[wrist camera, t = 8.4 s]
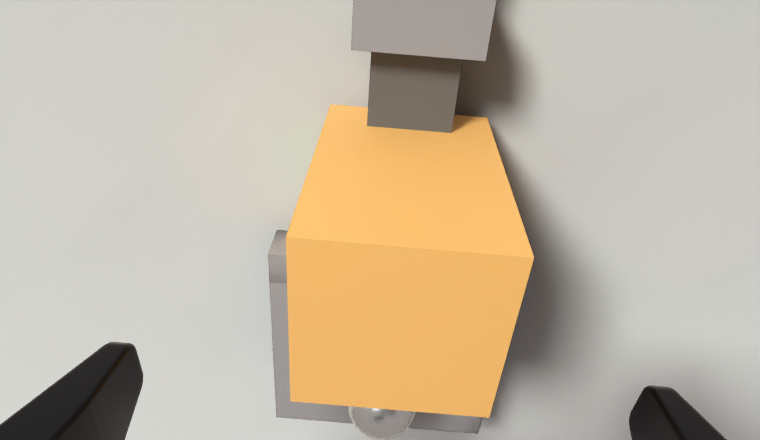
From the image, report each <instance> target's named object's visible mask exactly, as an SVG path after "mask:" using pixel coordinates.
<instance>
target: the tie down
mask: <svg viewBox="0 0 760 440" xmlns="http://www.w3.org/2000/svg"><path fill="white" fill-rule="evenodd" d="M495 6H496V0H353V16H352V40H351V50H357V51H369V52H371V67H370V83H369V99H368V108H367V107H355V106H343V105H330V108H329V111H328V114H327V117H326V120H325V123H324V126H323V129H322V132H321V134H320V137H319V140H318V143H317V146H316V149H315V152H314V155H313V158H312V161H311V164H310V167H309V170H308V173H307V176H306V179H305V182H304V185H303V188H302V191H301V194H300V196H299V199H298V202H297V205H296V208H295V211H294V214H293V217H292V220H291V223H290V226H289V229H288V231H283V230H277V231H276V234H275V237H274V239H273V242H272V245H271V247H270V250H269V253H268V262H269V282H270V302H271V321H272V341H273V361H274V380H275V400H276V417H281V418H293V419H305V420H317V421H329V422H341V423H353V422H352V420H351V418H350V416H349V412H348V407H347V406H353V407H365V408H377V409H389V410H402V411H414V412H416V413H415V416H414V419H413V421H412V422H411V424H410V425H409V427H408V428H414V429H427V430H439V431H451V432H463V433H475V434H478V432H479V428H480V424H481V421H482V417H487V418H489V417H490V413H491V410H492V406H493V403H494V399H495V395H496V392H497V388H498V385H499V381H500V378H501V374H502V371H503V367H504V363H505V360H506V356H507V353H508V349H509V346H510V342H511V339H512V335H513V331H514V328H515V324H516V321H517V317H518V314H519V310H520V307H521V303H522V299H523V296H524V292H525V289H526V285H527V282H528V278H529V275H530V271H531V267H532V264H533V260H534V255H533V252H532V249H531V247H530V244H529V241H528V238H527V235H526V232H525V229H524V226H523V223H522V220H521V217H520V214H519V211H518V208H517V205H516V202H515V199H514V196H513V193H512V190H511V187H510V184H509V181H508V178H507V175H506V172H505V169H504V166H503V163H502V160H501V157H500V154H499V151H498V148H497V145H496V142H495V139H494V136H493V133H492V130H491V127H490V124H489V122H488V119H487V117H475V116H463V115H454V113H455V106H456V100H457V93H458V87H459V80H460V74H461V67H462V61H463V59H464V60H476V61H486V56H487V51H488V45H489V39H490V34H491V28H492V23H493V17H494V11H495Z"/></svg>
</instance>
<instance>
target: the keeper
mask: <svg viewBox="0 0 760 440" xmlns="http://www.w3.org/2000/svg"><path fill="white" fill-rule="evenodd" d="M347 407H348V412H349V416H350V418H351V420H352V422H353V423H354V425H355V426H356V427H357V429H358V430H359V431H361V432H362V433H363V434H365V435H367V436H369V437H371V438H375V439H390V438H393V437H396V436H398V435H400V434H401V433H402V432H404V431H405V430H406V429H407V428H408V427H409V425H410V424H411V422H412V421H413V419H414V416H415V413H416V412H414V411H402V410H389V409H377V408H365V407H353V406H347Z"/></svg>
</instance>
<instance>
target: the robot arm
mask: <svg viewBox="0 0 760 440" xmlns="http://www.w3.org/2000/svg"><path fill="white" fill-rule="evenodd" d="M142 383H143V372H142V368H141V365H140V361H139V358H138V354H137V351H136V348H135V346H134V345H133V344H130V343H120V342H110V343H108V344H106V345H104V346H103V347H101V348H100V349H99V350H97V351H96V352H95V353H93V354H92V355H91V356H90V357H88V358H87V359H86V360H84V361H83V362H82V363H80V364H79V365H78V366H76V367H75V368H74V369H72V370H71V371H70V372H69V373H67V374H66V375H65V376H63V377H62V378H61V379H59V380H58V381H57V382H55V383H54V384H53V385H52V386H50V387H49V388H48V389H46V390H45V391H44V392H42V393H41V394H40V395H38V396H37V397H36V398H34V399H33V400H32V401H31V402H29V403H28V404H27V405H25V406H24V407H23V408H21V409H20V410H19V411H17V412H16V413H15V414H13V415H12V416H11V417H10V418H8V419H7V420H6V421H4V422H3V423H2V424H0V440H125V437H126V434H127V431H128V428H129V425H130V422H131V419H132V416H133V412H134V409H135V406H136V403H137V400H138V397H139V394H140V391H141V388H142ZM629 426H630V431H631V437H632V440H726V439H725V438H724V437H723V436H722V435H721V434H720V433H719V432H718V431H717V430H716V429H715V428H714V427H713V426H712V425H711V424H710V423H709V422H708V421H706V420H705V419H704V418H703V417H702V416H701V415H700V414H699V413H698V412H697V411H696V410H695V409H694V408H693V407H692V406H691V405H690V404H689V403H688V402H687V401H686V400H685V399H683V398H682V397H681V396H680V395H679V394H678V393H677V392H676V391H675V390H673V389H672V388H669V387H663V386H647V387H645V388H644V389H643V391H642V393H641V395H640V397H639V398H638V400H637V402H636V404H635V406H634V407H633V409H632V411H631V413H630V418H629Z"/></svg>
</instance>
